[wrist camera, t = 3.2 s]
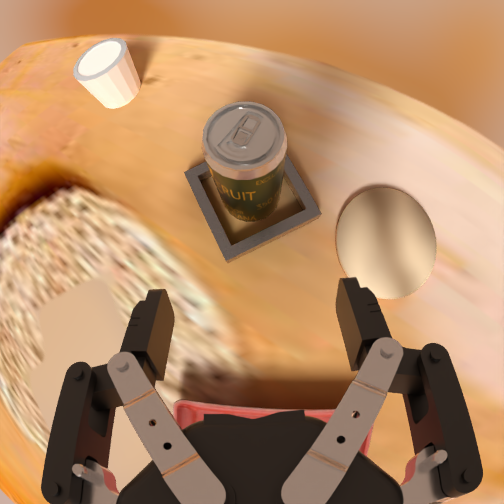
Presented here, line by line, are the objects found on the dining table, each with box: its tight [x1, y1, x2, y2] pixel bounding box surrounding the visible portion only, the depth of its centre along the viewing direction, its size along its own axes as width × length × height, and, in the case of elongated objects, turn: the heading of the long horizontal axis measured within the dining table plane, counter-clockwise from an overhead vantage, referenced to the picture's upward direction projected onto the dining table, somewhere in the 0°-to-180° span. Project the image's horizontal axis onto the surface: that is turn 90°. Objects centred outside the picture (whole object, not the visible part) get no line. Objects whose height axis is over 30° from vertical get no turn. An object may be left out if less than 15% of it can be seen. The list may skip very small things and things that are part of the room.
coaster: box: [336, 188, 436, 299], centre depth 28 cm, size 11×11×1 cm
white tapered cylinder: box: [73, 38, 141, 109], centre depth 29 cm, size 7×7×7 cm
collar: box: [184, 154, 321, 263], centre depth 28 cm, size 10×10×2 cm
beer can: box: [202, 101, 287, 222], centre depth 23 cm, size 5×5×12 cm
